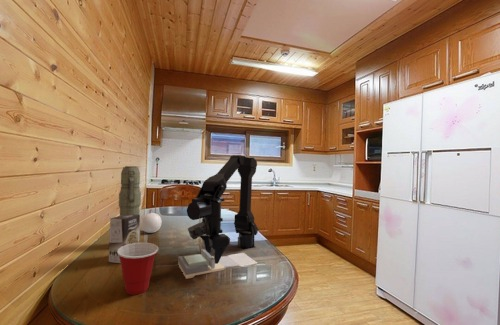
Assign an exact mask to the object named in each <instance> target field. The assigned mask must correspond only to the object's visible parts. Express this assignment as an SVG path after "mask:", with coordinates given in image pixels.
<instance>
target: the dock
mask: <svg viewBox="0 0 500 325" xmlns="http://www.w3.org/2000/svg"><path fill="white" fill-rule="evenodd" d="M191 255H198V253H194V254H187V255H179V256H178V260H177V261H178V262H177V265H179V266H178V268H179V269H180V271H181V272H183V273H182V274H183V276H184V277H185V279H186V280H187V279H192V278H196V277H195V276H199V275H205V274H208V273H209V274H210V273H214V272H221V271H224V270H225V269H228V268H234V267H245V266H250V265H255V264H258V262H257V261H256V260H254V259H253V258H252V257H250V256H248V255H247V254H246V253H245V252H239V253H235V254H234V253H233V254H228V255H225V256H223V255H222V256H221V258H220V260H219V263H218V264H215V268H211V267H210V266H208V265H207V264H206V265H200V266H195V267H188V265H187V264H186V262H185V261H184V257H185V256H191ZM211 256H212V257H213V258H214V255H211Z"/></svg>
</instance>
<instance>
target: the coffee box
mask: <svg viewBox="0 0 500 325" xmlns="http://www.w3.org/2000/svg"><path fill="white" fill-rule="evenodd" d="M140 218H141V215H140V214H139V215H135V214H126V215H122V216H120V215H119V216H114V217H110V218H109V244H108V245H109V247H108V262H109V263H114V264H115V263H116V264H121V262H120V257H119V255H118V253H117V251H118V249H119V248H120V247H122V246H125V245H127V244H132V243H139V242H140V239H139V228H140V227H141V220H140Z"/></svg>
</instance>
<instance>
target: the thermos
mask: <svg viewBox="0 0 500 325" xmlns="http://www.w3.org/2000/svg"><path fill="white" fill-rule="evenodd" d="M140 180H141V172H140V168H139V167H137V165H136V166H134V165H133V166H131V165H130V166H127V165H126V166H124V167H122V170H121V172H120V185H121V186H120V190H119V193H118V207H119V216H122V215H126V214H135V215H140V206H141V204H142V201H141V200H142V199H141V198H142V193H141V189H140V184H141V183H140V182H141V181H140ZM140 239H141V227H139V240H140ZM139 243H141V242H140V241H139Z"/></svg>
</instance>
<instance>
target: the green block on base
mask: <svg viewBox="0 0 500 325" xmlns="http://www.w3.org/2000/svg"><path fill="white" fill-rule="evenodd" d="M200 251H201V253H199V254H198V253H197V254H198V255H193V254H190V255H191V256H186V255H184V256H185V257H184V261H185V262H186V264H187V265H188V267H195V266H200V265H206V264H207V265H208V266H210V267H211V268H215V259H214V258H213V257H214V256H213V255H211V253H210V254H209V253H208V252H207V251H206V250H205V247H204V248H201V250H200ZM212 256H213V257H212Z"/></svg>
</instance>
